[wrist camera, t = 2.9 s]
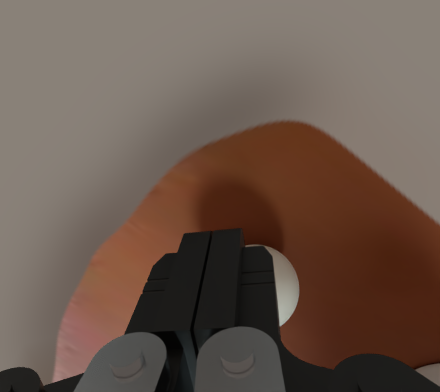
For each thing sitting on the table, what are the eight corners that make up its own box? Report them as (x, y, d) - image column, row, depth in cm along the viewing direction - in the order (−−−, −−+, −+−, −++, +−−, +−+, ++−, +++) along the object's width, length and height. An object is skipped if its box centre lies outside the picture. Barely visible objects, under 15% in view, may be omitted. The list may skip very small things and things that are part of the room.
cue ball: (311, 254, 26) (324, 308, 21) (265, 307, 28) (268, 367, 23) (243, 214, 25) (240, 261, 20) (202, 271, 27) (190, 326, 22)
